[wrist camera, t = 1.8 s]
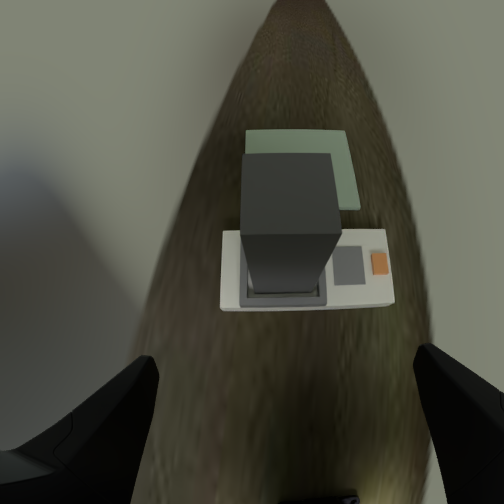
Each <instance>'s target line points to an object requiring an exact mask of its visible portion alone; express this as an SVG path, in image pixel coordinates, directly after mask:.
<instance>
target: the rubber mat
mask: <svg viewBox="0 0 504 504" xmlns="http://www.w3.org/2000/svg"><path fill="white" fill-rule="evenodd" d="M251 153H331V159H332V165H333V171H334V177H335V183H336V190H337V197H338V204H339V210H360V208H361V207H360V201H359V195H358V190H357V184H356V179H355V174H354V169H353V165H352V160H351V155H350V151H349V146H348V142H347V138H346V134H345V131H339V130H309V129H272V130H246V146H245V154H251Z"/></svg>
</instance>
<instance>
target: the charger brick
mask: <svg viewBox="0 0 504 504" xmlns="http://www.w3.org/2000/svg"><path fill="white" fill-rule="evenodd" d="M341 235H342V227H341V219H340V211H339V204H338V197H337V190H336V183H335V177H334V171H333V165H332V159H331V153H251V154H242V178H241V212H240V237H241V241H242V245H243V249H244V253H245V257H246V261H247V265H248V269H249V273H250V277H251V281H252V285H253V289H254V292H255V294H293V293H311V292H312V290H313V288H314V286H315V284H316V282H317V281H318V279H319V277H320V275H321V273H322V271H323V270H324V268H325V266H326V264H327V262H328V260H329V258H330V256H331V254H332V252H333V251H334V249H335V247H336V245H337V243H338V241H339V239H340V237H341Z"/></svg>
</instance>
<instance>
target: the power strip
mask: <svg viewBox="0 0 504 504" xmlns="http://www.w3.org/2000/svg"><path fill="white" fill-rule="evenodd" d="M393 303H395V300H394V290H393V281H392V273H391V265H390V258H389V251H388V244H387V238H386V232H385V229H342V235H341V237H340V239H339V241H338V243H337V245H336V247H335V249H334V251H333V252H332V254H331V256H330V258H329V260H328V262H327V264H326V266H325V268H324V270H323V271H322V273H321V275H320V277H319V279H318V281H317V282H316V284H315V286H314V288H313V290H312V292H311V293H293V294H255V292H254V289H253V285H252V281H251V277H250V273H249V269H248V265H247V261H246V257H245V253H244V249H243V245H242V241H241V237H240V230H236V231H223V241H222V264H221V290H220V308H221V309H222V310H223V311H298V310H329V309H350V308H368V307H384V306H389V305H391V304H393Z"/></svg>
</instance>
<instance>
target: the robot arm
mask: <svg viewBox="0 0 504 504" xmlns="http://www.w3.org/2000/svg"><path fill="white" fill-rule="evenodd" d="M413 369H414V373H415V377H416V382H417V386H418V391H419V396H420V400H421V404H422V408H423V411H424V414H425V417H426V420H427V424H428V427H429V430H430V434H431V437H432V441H433V444H434V448H435V452H436V455H437V459H438V463H439V467H440V471H441V475H442V480H443V484H444V489H445V493H446V498H447V503H448V504H504V393H503V392H501V391H499V390H498V389H497V388H495V387H494V386H493V385H491V384H490V383H488V382H487V381H486V380H484V379H483V378H481V377H479V376H478V375H477V374H476V373H474V372H473V371H471V370H470V369H468V368H467V367H465V366H464V365H462V364H461V363H459V362H458V361H457V360H455V359H454V358H452V357H450V356H449V355H448V354H446V353H445V352H443V351H442V350H441V349H439V348H438V347H436V346H435V345H433V344H431V343H425V344H421V345H420V346H419V347H418V350H417V353H416V356H415V358H414V361H413ZM158 383H159V372H158V369H157V366H156V363H155V361H154V358H153V357H152V356H145V355H141V356H139V357H138V358H137V359H136V360H134V361H133V362H132V363H131V364H129V365H128V366H127V367H126V368H124V369H123V370H122V371H121V372H120V373H118V374H117V375H116V376H115V377H113V378H112V379H111V380H110V381H108V382H107V383H106V384H105V385H103V386H102V387H101V388H100V389H99V390H97V391H96V392H95V393H94V394H92V395H91V396H90V397H89V398H87V399H86V400H85V401H84V402H82V403H81V404H80V405H79V406H77V407H76V408H75V409H74V410H72V412H70V413H68V414H67V415H66V416H65V417H63V418H62V419H61V420H59V421H58V422H57V423H55V424H54V425H53V426H51V427H50V428H48V429H47V430H45V431H44V432H42V433H41V434H39V435H37V436H36V437H34V438H33V439H31V440H29V441H28V442H26V443H25V444H23V445H21V446H20V447H18V448H16V449H12V450H6V451H0V504H130V503H131V498H132V494H133V490H134V486H135V482H136V478H137V474H138V470H139V466H140V462H141V458H142V455H143V451H144V447H145V443H146V440H147V436H148V433H149V429H150V425H151V422H152V418H153V413H154V407H155V401H156V395H157V389H158ZM354 499H355V501H354V502H351V501H352V500H354ZM359 502H360V500H359V498H358V497H357V496H356V495H352V496H345V497H336V496H334V497H325V498H314V499H305V500H303V501H287V502H280V503H278V504H359Z"/></svg>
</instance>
